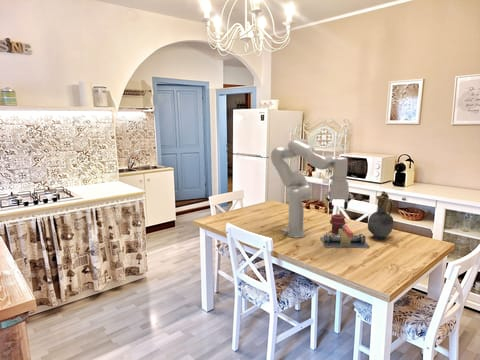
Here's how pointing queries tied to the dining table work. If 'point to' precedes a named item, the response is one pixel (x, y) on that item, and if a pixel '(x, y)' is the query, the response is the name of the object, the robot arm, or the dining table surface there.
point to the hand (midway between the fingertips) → (337, 208)
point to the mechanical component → (337, 222)
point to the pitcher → (381, 218)
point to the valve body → (344, 240)
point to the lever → (347, 231)
